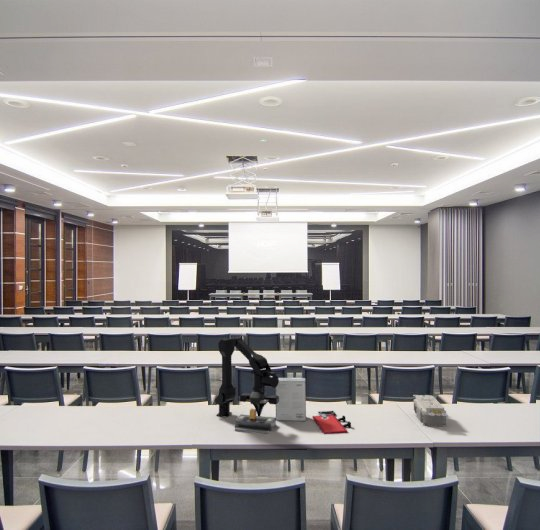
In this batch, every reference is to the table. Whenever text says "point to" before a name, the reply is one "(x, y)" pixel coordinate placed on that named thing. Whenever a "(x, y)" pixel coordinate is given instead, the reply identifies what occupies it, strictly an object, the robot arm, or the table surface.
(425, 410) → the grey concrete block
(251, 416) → the lever
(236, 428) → the dark grey thin bar
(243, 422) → the strip
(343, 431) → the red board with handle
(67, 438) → the table surface
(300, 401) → the hard drive box
